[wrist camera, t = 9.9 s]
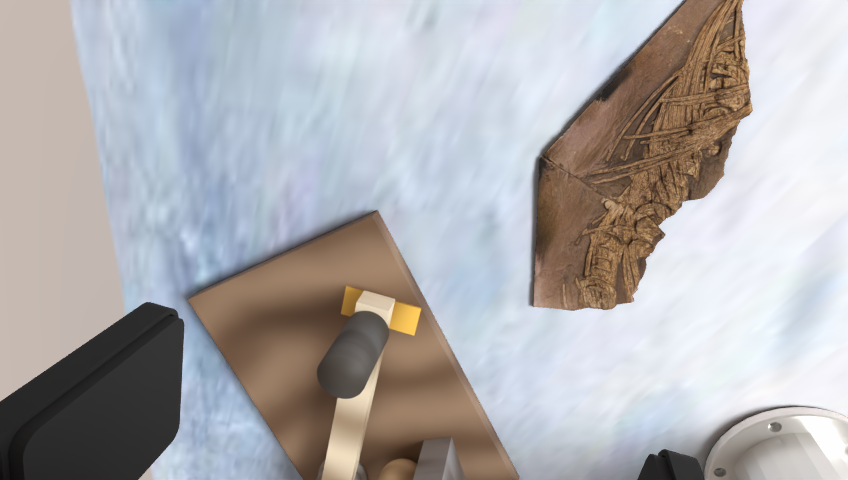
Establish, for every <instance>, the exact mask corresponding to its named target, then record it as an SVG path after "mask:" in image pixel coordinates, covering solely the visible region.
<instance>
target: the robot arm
mask: <svg viewBox="0 0 848 480" xmlns="http://www.w3.org/2000/svg"><path fill="white" fill-rule="evenodd" d="M183 341H184V322H183V320H182V319H180V318H178V313H177V311H176V310H175V309H172V308H168V307H165V306H161V305H158V304H154V303H151V302H146V303H144V304H142V305H141V306H139V307H138V308H136V309H135V310H133V311H132V312H130V313H129V314H127V315H126V316H125V317H123V318H122V319H120V320H119V321H117V322H116V323H114V324H113V325H111V326H110V327H108V328H107V329H106V330H104V331H103V332H101V333H100V334H98V335H97V336H95V337H94V338H93V339H91V340H89V341H88V342H87V343H85V344H84V345H82V346H81V347H79V348H78V349H76V350H75V351H73V352H72V353H71V354H69V355H68V356H66V357H65V358H63V359H62V360H60V361H59V362H57V363H56V364H54V365H53V366H52V367H50V368H49V369H47V370H46V371H44V372H43V373H41V374H40V375H38V376H37V377H35V378H34V379H33V380H31V381H30V382H28V383H27V384H25V385H24V386H22V387H21V388H19V389H18V390H17V391H15V392H14V393H12V394H11V395H9V396H8V397H6V398H5V399H3V400H2V401H1V402H0V480H138V479H139V478H140V477H141V476H142V475H143V474H144V473H145V471H146V470H147V469H148V468H149V467H150V466H151V465H152V464H153V463H154V461H155V460H156V459H157V458H158V457H159V456H160V455H161V454H162V453H163V451H164V450H165V449H166V448H167V447H168V446H169V445H170V444H171V442H172V441H173V440H174V438H175V436H176V434H177V432H178V429H179V424H180V404H181V383H182V362H183ZM638 480H848V417H845V416H843V415H840V414H838V413H835V412H831V411H827V410H822V409H818V408H806V407H792V408H780V409H775V410H771V411H766V412H762V413H760V414H757V415H754V416H752V417H749V418H747V419H745V420H743V421H742V422H740V423H738V424H737V425H735V426H733V427H732V428H731V429H730V430H728V431H727V432H726V433H725V434H724V435H722V436H721V438H720V439H719V440H718V441H717V443H716V444H715V445H714V446H713V448H712V450H711V452H710V454H709V456H708V458H707V461H706V466H705V470H704V476H703V473H702V471H701V468H700V465H699V463H698V461H697V459H695V458H693V457H690V456H686V455H683V454H679V453H676V452H672V451H669V450H665V449H664V450H661V451H660V452H659V454H658V456H657V455H654V454H650V455H649V456H648V457H647V459H646V461H645V464H644V466H643V468H642V470H641V473H640V475H639V477H638Z"/></svg>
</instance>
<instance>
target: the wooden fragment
mask: <svg viewBox="0 0 848 480" xmlns="http://www.w3.org/2000/svg"><path fill="white" fill-rule="evenodd" d="M742 4H743V0H687V1H686V2H685V3H684V4H683V5H682V6H681V7H680V8H679V10H678V11H677V12H676V13H675V14H674V15H673V16H672V17H671V18H670V19H669V20H668V21H667V23H666V24H665V25H664V26H663V27H662V28H661V29H660V30H659V31H658V32H657V33H656V34H655V35H654V36H653V37H652V38H651V40H650V41H649V42H648V43H647V44H646V45H645V46H644V47H643V48H642V49H641V50H640V52H639V53H638V54H637V55H636V56H635V57H634V58H633V59H632V60H631V61H630V62H629V63H628V64H627V66H626V67H625V68H624V69H623V70H622V71H621V72H620V73H619V74H618V76H617V77H616V78H615V79H614V80H613V81H612V82H611V83H610V84H609V85H608V86H607V87H606V89H604V90H603V91H602V93H601V94H600V95H599V96H598V97H597V98H596V99H595V100H594V101H593V102H592V103H591V104H590V105H589V106H588V107H587V108H586V110H585V111H584V112H582V114H581V115H580V116H579V117H578V118H577V119H576V120H575V121H574V122H573V124H572V125H571V126H570V128H569V129H567V131H566V133H564V135H563V136H561V137H560V138H559V139H558V140H557V141H556V142H555V143H554V144H553V145H552V146H551V147H550V148H549V150H548V151H547V152H546V153H545V154H544V155H543V156H542V157H541V158H540V160H539V174H540V177H539V194H538V217H537V237H536V250H535V251H536V257H535V262H536V264H535V272H536V273H535V276H534V277H535V282H534V306H533V307H543V308H555V309H564V310H571V311H574V310H579V309H583V308H594V309H595V308H598V309H603V310H608V309H613V308H614V307H615V306H616V304H623V303H631V302H633V301H634V298H633V296H632V295H633V294H634V293H635V292H636V291H637V290H638V289H637V286H638V283H639V281H640V280H641V279H642V277H643V275H644V272H645V269H646V260H645V259H646V258H647V257H648V256H650V253H652V252H653V251H654V249H655V246H656V244H657V243H658V242H659V241H660V240H661V239H662V238H664V236H665V234H664V232H663V231H662V230H661V229H660V228H659V226H658V225H660V224H661V223H662V221H664V220H665V219H666V218H668V217H670V216H672V215H674V214H675V213H676V212H677V210H678V209H679V208H680V207H681V206H682V201H688V200H695V199H701V198H704V197H705V196H706V195H707V194H708V193H709V192H710V191H711V190H712V189H713V188H714V187H715V185H716V184H717V182H718V181H719V180H720V179H721V178H722V177H723V175H724V163H725V161H726V159H727V157H728V151H729V148H730V146H731V144H732V142H731V139H732V136H733V135H735V133H736V130H737V126H738V124H739V122H740V120H741V119H743V118H744V117H746V116H748V115H749V114H750V113H751V112H752V111H753V110H752V104H751V101H750V97H751V96H750V89H749V83H748V80H749V67H748V61H747V59H746V58H745V52H744V50H745V39H746V38H745V32H744V24H743V21H742V11H741V7H742ZM544 156H546V157H547V158H549V159H550V160H551V161H552V162H549V161H548V160H547V158H545V157H544Z"/></svg>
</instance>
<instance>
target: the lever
mask: <svg viewBox="0 0 848 480" xmlns="http://www.w3.org/2000/svg"><path fill="white" fill-rule="evenodd" d="M394 303H395V299H393V298H390V297H386V296H383V295H379V294H376V293H372V292H369V291H365V290H364V292H363V293H362V295H361V296H360V298H359V299H358V301H357V302H356V307H355V313H354V314H353V315H352V316H351V317H350V318H349V319H348V321H347V322H346V324H345V325H344V327H343V329H342V330H341V332H340V333H339V335H338V336H337V338H336V339H335V341H334V342H333V344H332V345H331V347H330V348H329V350H328V351H327V353H326V354H325V356H324V358H323V359H322V361H321V362H320V364H319V365H318V368H317V378H318V381H319V383H320V385H321V387H322V388H323V389H324V390H325V391H326V392H327V393H329V394H330V395H332V396H334V397H337V398H338V399H337V404H336V409H335V414H334V419H333V424H332V429H331V434H330V440H329V445H328V450H327V455H326V460H325V465H324V467H323V468H322V469H321V471H320V473H319V475H318V477H317V479H316V480H362V478H361V476H360V475H359V473H358V472H357V467H358V463H359V458H360V454H361V449H362V445H363V440H364V436H365V432H366V427H367V423H368V418H369V414H370V409H371V405H372V401H373V396H374V392H375V387H376V383H377V378H378V374H379V370H380V365H381V361H382V356H383V352H384V347H385V345H386V343H387V340H388V338H389V325H390V321H391V316H392V312H393V307H394Z"/></svg>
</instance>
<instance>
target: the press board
mask: <svg viewBox="0 0 848 480" xmlns="http://www.w3.org/2000/svg"><path fill="white" fill-rule="evenodd" d="M364 290H365V291H369V292H372V293H376V294H379V295H383V296H386V297H390V298H393V299H395V303H394V307H393V312H392V316H391V321H390V325H389V338H388V340H387V343H386V345H385V347H384V352H383V356H382V361H381V365H380V370H379V374H378V378H377V383H376V387H375V392H374V396H373V401H372V405H371V409H370V414H369V418H368V423H367V427H366V432H365V436H364V440H363V445H362V449H361V454H360V458H359V463H358V467H357V472H358V473H359V475H360V476H361V478H362V480H519V475H518V474H517V472H516V470H515V468H514V466H513V464H512V462H511V460H510V458H509V457H508V455H507V453H506V451H505V449H504V447H503V445H502V443H501V442H500V440H499V438H498V436H497V434H496V432H495V430H494V428H493V426H492V425H491V423H490V421H489V419H488V417H487V415H486V413H485V411H484V410H483V408H482V406H481V404H480V402H479V400H478V398H477V396H476V394H475V393H474V391H473V389H472V387H471V385H470V383H469V381H468V379H467V378H466V376H465V374H464V372H463V370H462V368H461V366H460V364H459V362H458V361H457V359H456V357H455V355H454V353H453V351H452V349H451V347H450V346H449V344H448V342H447V340H446V338H445V336H444V334H443V332H442V330H441V329H440V327H439V325H438V323H437V321H436V319H435V317H434V315H433V314H432V312H431V310H430V308H429V306H428V304H427V302H426V300H425V298H424V297H423V295H422V293H421V291H420V289H419V287H418V285H417V283H416V282H415V280H414V278H413V276H412V274H411V272H410V270H409V268H408V266H407V265H406V263H405V261H404V259H403V257H402V255H401V253H400V251H399V250H398V248H397V246H396V244H395V242H394V240H393V238H392V236H391V234H390V233H389V231H388V229H387V227H386V225H385V223H384V221H383V219H382V218H381V216H380V214H379V212H378V210H377V211H375V212H373V213H370V214H368V215H366V216H364V217H361V218H359V219H357V220H355V221H353V222H350V223H348V224H346V225H344V226H342V227H339V228H337V229H335V230H333V231H331V232H328V233H326V234H324V235H322V236H320V237H317V238H315V239H313V240H311V241H309V242H306V243H304V244H302V245H300V246H298V247H295V248H293V249H291V250H289V251H287V252H284V253H282V254H280V255H278V256H276V257H273V258H271V259H269V260H267V261H265V262H262V263H260V264H258V265H256V266H254V267H251V268H249V269H247V270H245V271H243V272H240V273H238V274H236V275H234V276H232V277H229V278H227V279H225V280H223V281H221V282H218V283H216V284H214V285H212V286H210V287H207V288H205V289H203V290H201V291H199V292H197V293H196V294H194V295H193V296H192V297H190V298H189V299H188V301H189V303H190V304H191V306H192V307H193V309H194V310H195V312H196V314H197V315H198V317H199V318H200V320H201V321H202V323H203V324H204V326H205V328H206V329H207V331H208V332H209V334H210V335H211V337H212V338H213V340H214V341H215V343H216V345H217V346H218V348H219V349H220V351H221V352H222V354H223V355H224V357H225V359H226V360H227V362H228V363H229V365H230V366H231V368H232V369H233V371H234V373H235V374H236V376H237V377H238V379H239V380H240V382H241V383H242V385H243V387H244V388H245V390H246V391H247V393H248V394H249V396H250V397H251V399H252V401H253V402H254V404H255V405H256V407H257V408H258V410H259V411H260V413H261V415H262V416H263V418H264V419H265V421H266V422H267V424H268V425H269V427H270V429H271V430H272V432H273V433H274V435H275V436H276V438H277V439H278V441H279V443H280V444H281V446H282V447H283V449H284V450H285V452H286V453H287V455H288V457H289V458H290V460H291V461H292V463H293V464H294V466H295V467H296V469H297V471H298V472H299V474H300V475H301V477H302V478H303V480H316V479H317V477H318V475H319V473H320V471H321V469H322V468H323V467H324V465H325V460H326V455H327V450H328V445H329V440H330V434H331V429H332V424H333V419H334V414H335V409H336V404H337V399H338V398H337V397H334V396H332V395H330V394H329V393H327V392H326V391H325V390H324V389H323V388H322V387H321V385H320V383H319V381H318V378H317V368H318V365H319V364H320V362H321V361H322V359H323V358H324V356H325V354H326V353H327V351H328V350H329V348H330V347H331V345H332V344H333V342H334V341H335V339H336V338H337V336H338V335H339V333H340V332H341V330H342V329H343V327H344V325H345V324H346V322H347V321H348V319H349V318H350V317H351V316H352V315H353V314H354V313H355V307H356V302H357V301H358V299H359V298H360V296H361V295H362V293H363V292H364Z"/></svg>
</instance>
